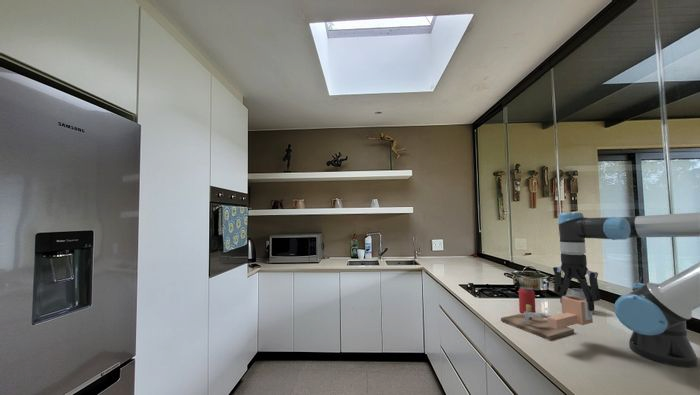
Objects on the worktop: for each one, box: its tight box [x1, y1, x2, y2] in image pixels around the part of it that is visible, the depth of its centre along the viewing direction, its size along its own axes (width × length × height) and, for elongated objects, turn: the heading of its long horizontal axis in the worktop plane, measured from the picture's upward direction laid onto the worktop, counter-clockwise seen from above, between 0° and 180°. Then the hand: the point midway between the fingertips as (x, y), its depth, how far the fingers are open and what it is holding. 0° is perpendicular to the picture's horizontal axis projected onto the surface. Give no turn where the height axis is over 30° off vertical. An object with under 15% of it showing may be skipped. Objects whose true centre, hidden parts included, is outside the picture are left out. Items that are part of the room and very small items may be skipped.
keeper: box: [524, 311, 543, 326], centre depth 112 cm, size 3×5×7 cm, turn 68°
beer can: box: [518, 285, 537, 314], centre depth 132 cm, size 7×7×12 cm
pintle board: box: [500, 304, 575, 341], centre depth 115 cm, size 20×16×8 cm
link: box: [546, 295, 594, 329], centre depth 99 cm, size 18×6×8 cm, turn 114°
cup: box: [570, 287, 595, 315], centre depth 135 cm, size 8×8×10 cm
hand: (577, 316), depth 102 cm, fingers closed on link, 6 cm apart
